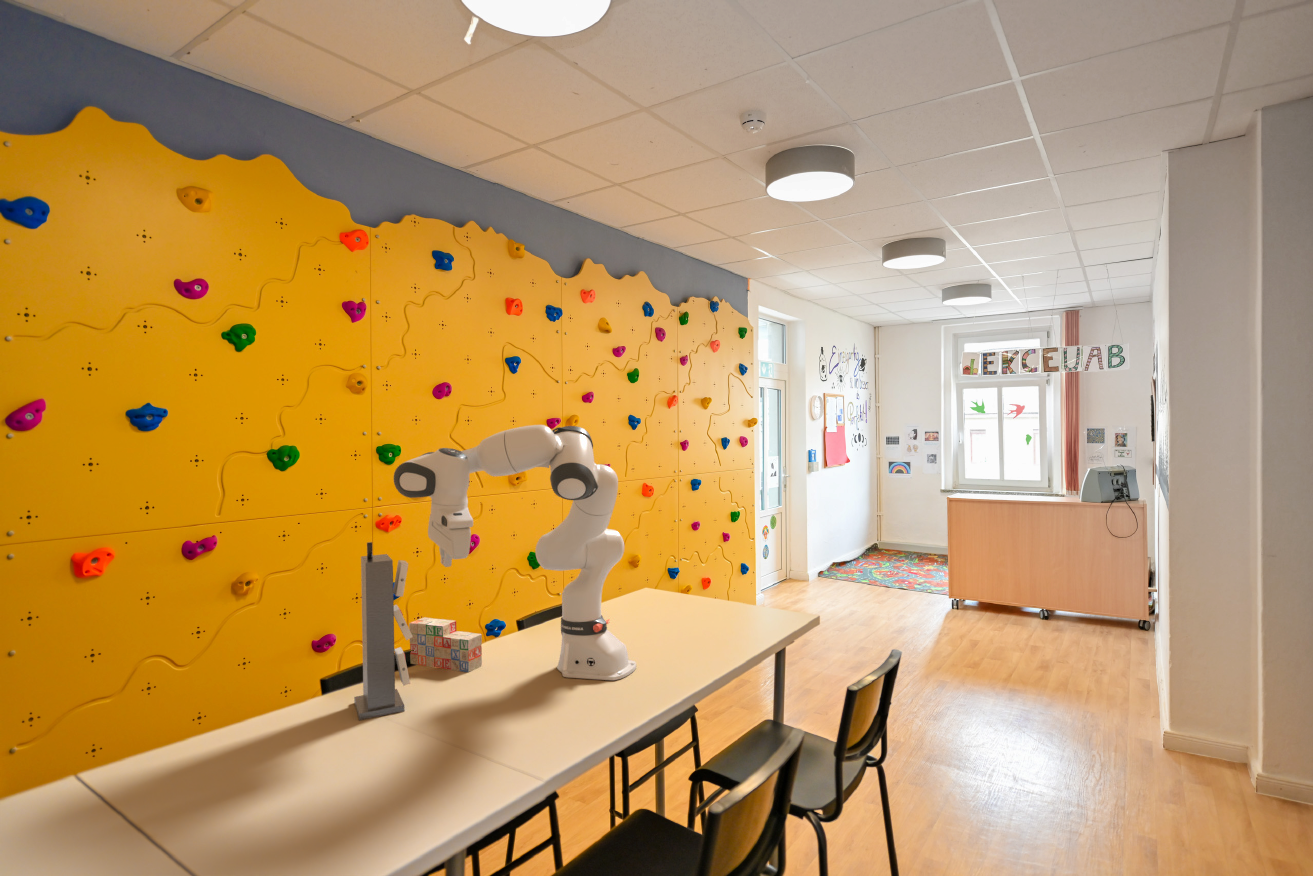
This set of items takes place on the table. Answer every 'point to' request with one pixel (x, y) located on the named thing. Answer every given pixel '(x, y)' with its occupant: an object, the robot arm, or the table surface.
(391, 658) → the power strip
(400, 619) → the middle rocker
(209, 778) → the table surface
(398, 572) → the top rocker
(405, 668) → the bottom rocker
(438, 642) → the stack of blocks
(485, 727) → the table surface
